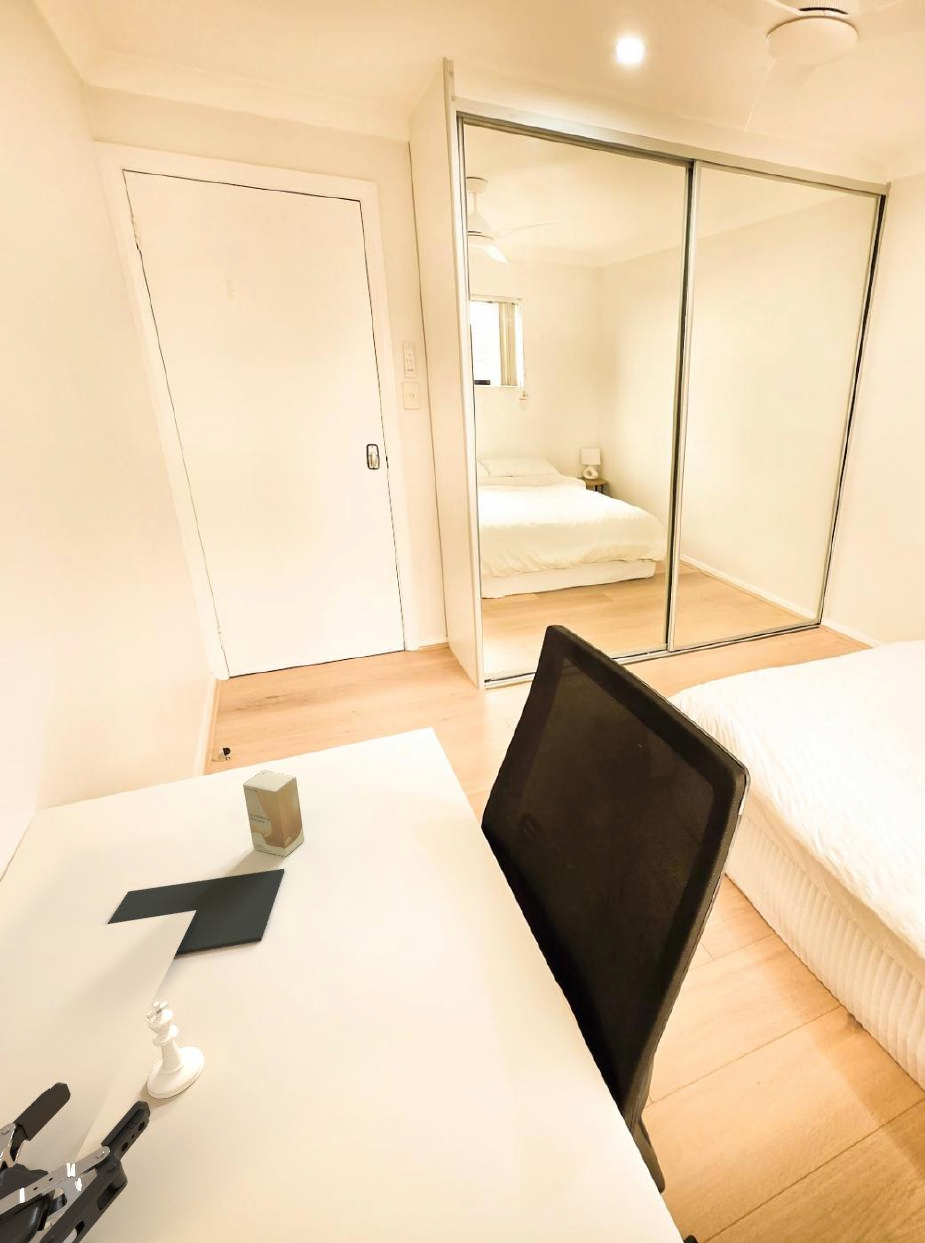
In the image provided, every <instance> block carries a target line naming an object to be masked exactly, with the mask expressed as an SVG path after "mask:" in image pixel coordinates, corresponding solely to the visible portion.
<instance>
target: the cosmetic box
mask: <svg viewBox="0 0 925 1243" xmlns="http://www.w3.org/2000/svg"><path fill="white" fill-rule="evenodd" d="M242 787H243V793H244V799H245V800H244V801H245V805H246V811H247V819H248V823H249V828H250V834H251V835H250V836H251V841H252V848H253V849H254V850H256V851H260V852H264V853H267V854H272V855H276V856H279V857H287V856H289V855H290V854H291V853H292V852H293V851H294V850H295V849H296V848H298V847H299V846H300V845H301V844H302V843H304V842H305V834H304V833H305V832H304V825H303V818H302V811H301V810H302V809H301V804H300V795H299V788H298V781H297V776H295V775H291V774H286V773H283V772H276V771H272V770H267V769H262V770H261V771H260V772H258V773H256V774H255V775H254V776H252V777H251V778H249V779H248V780H246V781H245V782H244V783H242Z"/></svg>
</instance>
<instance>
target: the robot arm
mask: <svg viewBox="0 0 925 1243" xmlns="http://www.w3.org/2000/svg"><path fill="white" fill-rule="evenodd" d="M71 1097H72V1093H71V1091H70V1088H69V1086H68V1084H67V1083H65V1082H56V1083H55V1084H54V1085H52V1086H51V1088H50V1087H49V1088H47V1089H46V1090H45V1091H43V1092H42V1093H41V1094H39V1095H38V1096H37V1098H36V1099H35V1100H33V1102H31V1103H30V1105H29V1106H28V1107H27V1108H25V1110H24V1111H23V1112H21V1113H20V1114H19V1115H18V1117H17V1118H15V1119H14V1120H13V1121H12V1122H11V1123H7V1124H5V1125H4V1126H2V1127H1V1128H0V1243H81V1241H82V1240H83V1239H84V1238H85V1236H87V1234H88V1233H89V1232H90V1231H91V1229H92V1228H93V1227H94V1225H96V1223H97V1222H98V1221H99V1220H100V1218H101V1217H102V1216H103V1215H104V1213H105V1212H106V1211H107V1210H108V1209H109V1207H111V1205H112V1204H113V1203H114V1202H115V1201H116V1200H117V1198H118V1197H119V1195H120V1194H121V1193H123V1191H124V1190H125V1188H126V1187H127V1185H128V1183H129V1180H128V1177H127V1175H126V1173H125V1170H124V1167H123V1164H122V1163H123V1162H122V1161H121V1160H122V1158H123V1157H124V1156H125V1155H126V1154H127V1152H128V1151H129V1150H130V1148H131V1147H132V1146H133V1145H134V1144H135V1142H136V1141H137V1140H138V1138H139V1137H141V1135H142V1134H143V1133H144V1131H146V1129H147V1127H148V1125H149V1123H150V1117H151V1109H150V1106H149V1103H148V1102H147V1101H143V1100H137V1101H135V1103H134V1104H133V1105H132V1106H131V1107H130V1108H129V1110H128V1111H127V1112H126V1113H125V1114H124V1115H123V1117H122V1118H121V1119H120V1120H119V1121H118V1122H117V1124H116V1125H115V1126H114V1127H113V1128H112V1129H111V1130H110V1132H109V1133H108V1134H107V1135H106V1136H105V1137H104V1138H103V1140H102V1141H101V1142H100V1146H101V1147H99V1148H98V1149H96V1150H94V1151H93V1152H91V1153H88V1155H86V1156H84V1157H83V1158H81V1159H79V1160H78V1161H76V1162H73V1163H72V1162H68V1163H65V1164H63V1165H61V1166H60V1167H58V1168H56V1169H55V1170H54V1169H53V1170H52V1171H51V1172H49V1171H48V1170H44V1169H41V1168H37V1169H29V1168H27V1166H25V1164H21V1163H18V1162H19V1159H20V1156H21V1153H22V1150H23V1147H24V1142H25V1141H27V1142H31V1141H32V1140H33V1139H34V1138H35V1137H36V1136H37V1135H38V1134H39V1132H41V1130H42V1129H43V1128H44V1127H45V1126H46V1125H47V1124H48V1123H49V1122H50V1121H51V1120H52V1119H53V1118H54V1117H55V1116H56V1115H57V1114H58V1113H59V1112H60V1111H61V1109H63V1107H65V1105H67V1103H68V1102H69V1100H70V1099H71ZM56 1189H62V1191H63V1192H62V1193H61V1194H59V1195H58V1196H57V1197H55V1194H56ZM61 1214H62V1215H61ZM59 1215H61V1216H60V1217H59ZM48 1222H50V1223H49V1225H48V1227H46V1224H47V1223H48ZM45 1227H46V1228H45Z"/></svg>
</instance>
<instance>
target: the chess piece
mask: <svg viewBox="0 0 925 1243" xmlns="http://www.w3.org/2000/svg"><path fill="white" fill-rule="evenodd" d="M169 1007H170V1006H169V1003H168V1001H166V1000H165V1001H163V1003H160V1002H159V1001H156V1002H154V1003H153V1004H152V1008H153V1009H152V1010H151V1011H149V1012H147V1013H146V1017H147V1019H148V1023H147V1027H148V1028H149V1030H151V1031H153V1032H154V1035H153V1036H152V1041H151V1042H152V1045H153V1046H155V1047H161V1057H162V1058H161V1059H160V1060H159V1061H158V1062H157V1063H155V1065H154V1066H153V1067H152V1069H151V1070H150V1071H149V1074H148V1076H147V1079H146V1090H147V1092H148V1094H149V1096H150V1097H152V1098H155V1099H167V1098H171V1097H173V1096H176V1095H178V1094H180V1093H182V1092H184V1091H185V1090H187V1089H188V1088H189V1087H190V1086H191V1085H192V1084H194V1083H195V1081H197V1079H198V1078H199V1077H200V1075H201V1073H202V1072H203V1069H204V1066H205V1057H204V1054H203V1053H202V1051H201V1050H200V1049H199V1048H197V1047H194V1046H184V1047H180V1048H179V1047H178V1045H177V1044H176V1042H175V1039H176V1037H177V1036H178V1034H179V1028H178V1027H177V1026H176V1025H174V1024H172V1021H173V1016H174V1013H173V1011H172V1010H171V1009H167V1008H169Z"/></svg>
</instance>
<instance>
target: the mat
mask: <svg viewBox="0 0 925 1243" xmlns="http://www.w3.org/2000/svg"><path fill="white" fill-rule="evenodd" d="M284 875H285V868H278V869H272V870H265V871H258V872H252V873H245V874H237V875H231V876H223V877H217V878H210V879H203V880H197V881H189V882H182V883H176V884H170V885H169V884H168V885H162V886H155V887H148V888H142V889H136V890H128V891H127V892H126V894H125V895H124V898H123V899H122V900H121V902H120V903H119V905H118V906H117V908H116V909H115V911H114V912H113V914H112V915H111V917H110V919H109V921H108V922H107V925H112V924H118V923H125V922H132V921H137V920H144V919H150V918H156V917H163V916H169V915H175V914H182V913H189V912H194V911H195V912H194V914H193V917H192V918H191V921H190V923H189V924H188V926H187V928H186V931H185V933H184V934H183V937H182V939H181V941H180V943H179V946H178V947H177V949H176V952H175V953H174V956H180V955H186V954H192V953H197V952H203V951H208V950H214V949H219V948H226V947H231V946H237V945H245V944H249V943H255V942H261V941H262V939H263V937H264V934H265V931H266V928H267V925H268V922H269V919H270V915H271V913H272V910H273V908H274V907H273V906H274V903H275V901H276V898H277V895H278V893H279V889H280V887H281V884H282V880H283V877H284Z"/></svg>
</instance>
